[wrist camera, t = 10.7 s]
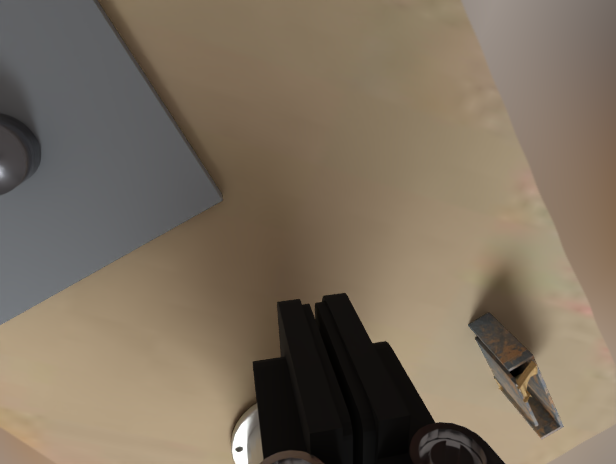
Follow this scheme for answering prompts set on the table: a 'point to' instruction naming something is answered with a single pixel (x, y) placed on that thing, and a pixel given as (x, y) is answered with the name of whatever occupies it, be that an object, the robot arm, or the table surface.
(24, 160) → the lever
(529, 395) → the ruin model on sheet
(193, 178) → the dial plate
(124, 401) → the table surface
